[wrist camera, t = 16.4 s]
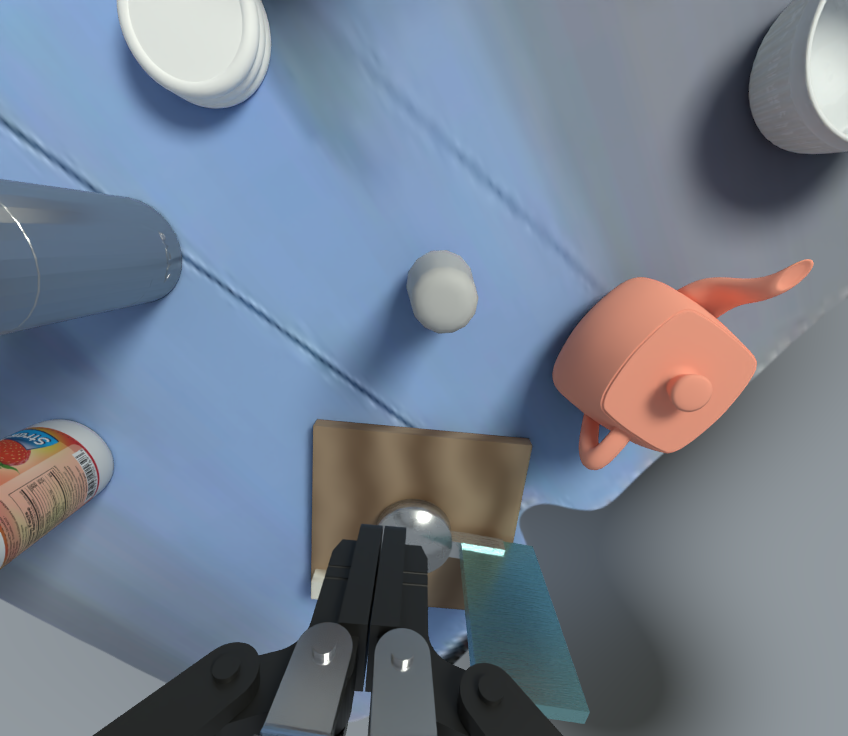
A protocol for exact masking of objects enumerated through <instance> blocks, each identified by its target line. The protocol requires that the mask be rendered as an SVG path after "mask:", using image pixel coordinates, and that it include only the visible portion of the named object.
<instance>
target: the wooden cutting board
mask: <svg viewBox="0 0 848 736" xmlns="http://www.w3.org/2000/svg"><path fill="white" fill-rule="evenodd" d="M531 450H532V444H531V442H530V440H529V439H528V438H517V437H506V436H495V435H484V434H473V433H462V432H451V431H440V430H429V429H418V428H407V427H396V426H385V425H374V424H363V423H352V422H342V421H331V420H320V419H317V420H316V422H315V424H314V425H313V483H312V555H311V599H318V597H319V594H320V590H321V587H322V584H323V580H324V578H325V574H326V570H327V567H328V564H329V561H330V557H331V554H332V551H333V550H334V548H335V547H336V546H337V545H338V544H339V543H340V542H341V540H342V539H346V540H357V539H358V534H359V530H360V526H361V524H371V525H377V521H378V519H379V517H380V515H381V513H382V512H383V511H384V510H385V509H386V508H387V507H388V506H390V505H391V504H393V503H395V502H398V501H401V500H405V499H421V500H426V501H428V502H431V503H433V504H435V505H436V506H438V507H439V508H440V509H442V510H443V512H444V513H445V514H446V515H447V517H448V519H449V521H450V525H451V531H457V532H463V533H469V534H475V535H480V536H486V537H492V538H498V539H503V541H504V542H510V543H513V540H514V535H515V530H516V525H517V520H518V515H519V510H520V505H521V500H522V495H523V490H524V485H525V480H526V475H527V470H528V465H529V460H530V455H531ZM428 607H437V608H449V609H462V610H465V607H464V597H463V587H462V577H461V568H460V559H458V558H452V557H448V559H447V560H446V561H445V563H444V564H443V565H442V566H440V567H439V568H438V569H436V570H434V571H432V572H430V573H428Z"/></svg>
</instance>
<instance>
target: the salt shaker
mask: <svg viewBox="0 0 848 736" xmlns="http://www.w3.org/2000/svg"><path fill="white" fill-rule="evenodd" d="M406 288H407V291H408V295H409V298H410V302H411V305H412V309H413V312H414V316H415V317H416V318H417V319H418V321H419V322H420V323H421V324H422V325H423V326H424V327H425V328H427V329H430V330H432V331H434V332H437V333H452V332H455V331H457V330H459V329H461V328H463V327H465V326H466V325H467V324H468V322H469V321H470V320H471V318H472V317H473V315H474V314H475V311H476V306H477V302H478V295H477V291H476V288H475V284H474V281H473V277H472V273H471V269H470V267H469V266H468V265H467V264H466V262H465V261H464V260H463V259H462V258H461V256H458V255H456V254H454V253H451V252H449V251H447V250H443V251H430V252H428V253H427V254H425V255H423V256H422V257H420V258H418V259H417V260H416V262H415V263H414V265H413V266H412V268H411V269H410V270H409V272H408V279H407V286H406Z"/></svg>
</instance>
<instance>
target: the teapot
mask: <svg viewBox="0 0 848 736" xmlns="http://www.w3.org/2000/svg"><path fill="white" fill-rule="evenodd" d="M812 267H813V261H812V260H810V259H808V260H803V261H799V262H797V263H795V264H793V265H791V266H789V267H787V268H785V269H783V270H781V271H779V272H777V273H775V274H772V275H768V276H765V277H760V278H751V279H741V278H723V277H716V278H706V279H702V280H698V281H695V282H693V283H691V284H688V285H686V286H684V287H682V288H681V289H679V290H675V289H673V288H672V287H670V286H668V285H666V284H664V283H662V282H659V281H657V280H653V279H650V278H645V277H638V278H633V279H629V280H627V281H625V282H624V283H622V284H620V285H618V286H617V287H616V288H614V289H613V290H612V291H610V292H609V293H608V294H607V295H606V296H605V297H603V298H602V299H601V300H600V301H599V302H598V303H597V304H596V305H595V306H594V307H593V308H592V309H591V310H590V311H589V312H588V313H587V314H586V315H585V316H584V317H583V318H582V320H581V321H580V322H579V323H578V325H577V326H576V327H575V328H574V330H573V331H572V333H571V334H570V336H569V338H568V339H567V341H566V343H565V344H564V346H563V348H562V350H561V351H560V353H559V355H558V357H557V359H556V362H555V364H554V368H553V373H552V376H553V382H554V385H555V387H556V388H557V389H558V391H559V392H560V393H561V394H562V395H563V396H564V397H565V398H567V399H568V400H569V401H570V402H571V403H572V404H573V405H575V406H576V407H577V408H578V409H580V410H581V411H582V412H583V413H584V416H583V421H582V426H581V432H580V438H579V455H580V459H581V462H582V464H583V465H584V466H585V467H586V468H588V469H590V470H598V469H601V468H603V467H604V466H606V465H607V464H609V463H610V462H611V461H612V460H613V459H614V458H615V457H616V456H617V455H618V454H619V453H620V451H621V450H622V449H623V448H624V447H625V446H626V444H627V443H628V442H629V441H631V442H633V443H635V444H638V445H640V446H643V447H646V448H649V449H652V450H655V451H659V452H663V453H672V452H675V451H677V450H679V449H681V448H683V447H684V446H686V445H687V444H688V443H690V442H691V441H693V440H694V439H695V438H696V437H698V436H699V435H700V434H701V433H703V432H704V431H705V430H706V429H707V428H709V427H710V426H711V425H712V424H713V423H714V422H715V421H716V420H717V419H719V418H720V417H721V416H722V414H723V413H724V412H725V411H726V410H727V409H728V407H730V406H731V404H732V403H733V402H734V401H735V400H736V398H737V397H738V396H739V395H740V394H741V392H742V391H743V389H744V388H745V387H746V386H747V384H748V383H749V381H750V379H751V378H752V376H753V374H754V372H755V370H756V366H757V361H756V359H755V357H754V355H753V354H752V353H751V352H750V351H749V350H748V349H747V348H746V347H745V346H744V345H743V344H742V343H741V342H740V341H739V339H738V338H737V337H736V336H735V335H734V334H733V333H732V332H731V331H729V330H728V329H727V328H726V327H725V326H724V325H723V324H722V323H721V322H720V321H719V320H718V319H717V318H718V317H719V316H720V315H722V314H724V313H725V312H727V311H729V310H730V309H732V308H734V307H737V306H740V305H743V304H747V303H753V302H759V301H763V300H766V299H770V298H772V297H775V296H777V295H780V294H782V293H784V292H786V291H788V290H789V289H791V288H792V287H794V286H795V285H797V284H798V283H799V282H800V281H801V280H802V279H804V278H805V277H806V276H807V274H808V273H809V272H810V271H811V269H812ZM599 425H602V426H604V427H605V428H607V429H609V430H610V432H609V434H608V435H607V436H606V437H605V438H604V439H603V440H602V441H601V443H598V437H599Z"/></svg>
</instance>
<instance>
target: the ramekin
mask: <svg viewBox="0 0 848 736" xmlns="http://www.w3.org/2000/svg"><path fill="white" fill-rule="evenodd" d="M749 101H750V108H751V112H752V116H753V118H754V120H755V123H756V125H757V126H758V128H759V130H760V132H761V133H762V134H763V135H764V136H765V137H766V139H768V140H769V141H771V142H772V143H773V144H774V145H776V146H778V147H779V148H781V149H785V150H787V151H789V152H795V153H800V154H805V153H806V154H825V153H837V152H848V0H793V1H792V2H791V3H790V4H789V6H788V7H787V8H786V9H785V10H784V11H783V12H782V13H781V14H780V15H779V17H778V18H777V20H776V21H775V22H774V23H773V24H772V26H771V27H770V29H769V31H768V33H767V34H766V36H765V37H764V39H763V41H762V44H761V46H760V47H759V49H758V52H757V55H756V58H755V60H754V62H753V68H752V71H751V74H750V83H749Z"/></svg>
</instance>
